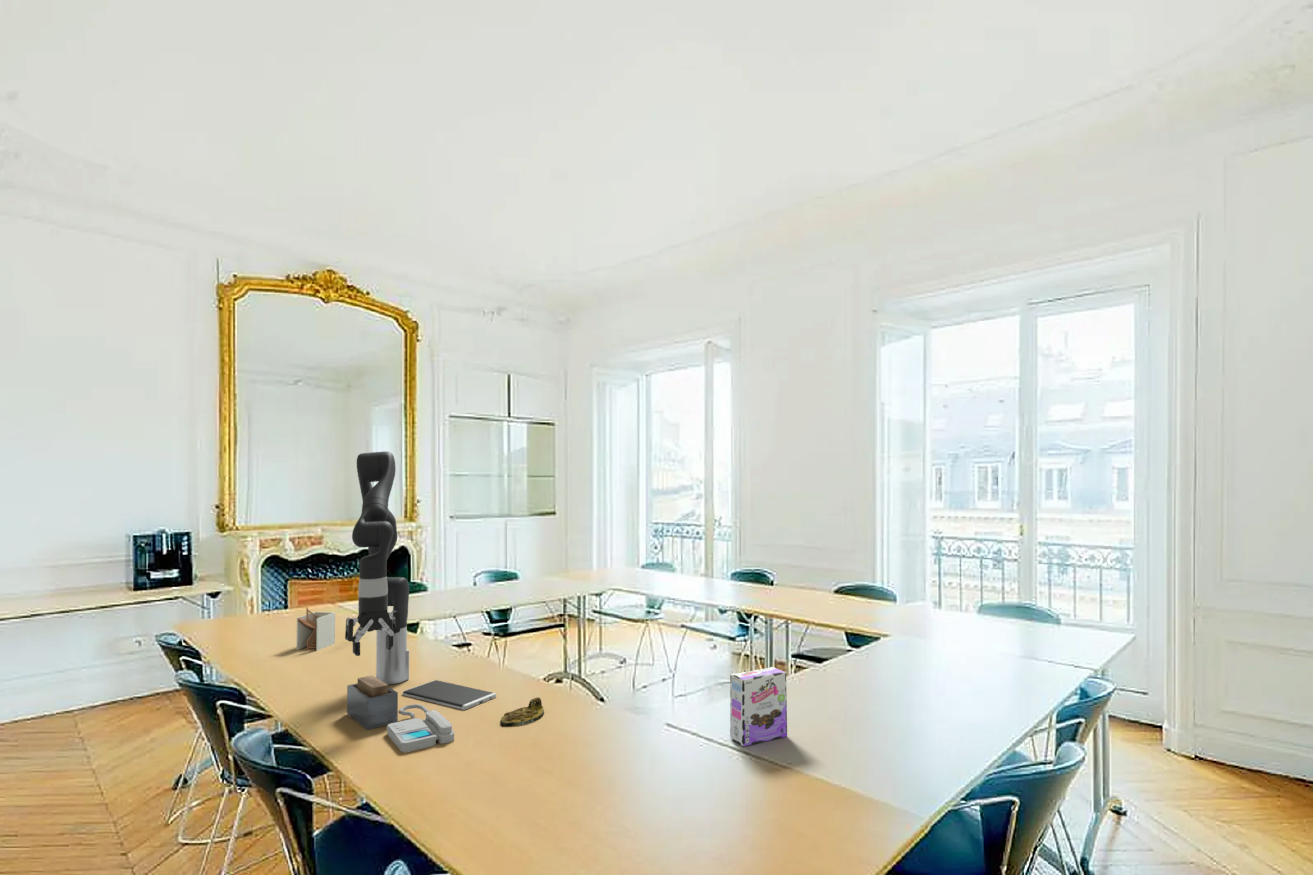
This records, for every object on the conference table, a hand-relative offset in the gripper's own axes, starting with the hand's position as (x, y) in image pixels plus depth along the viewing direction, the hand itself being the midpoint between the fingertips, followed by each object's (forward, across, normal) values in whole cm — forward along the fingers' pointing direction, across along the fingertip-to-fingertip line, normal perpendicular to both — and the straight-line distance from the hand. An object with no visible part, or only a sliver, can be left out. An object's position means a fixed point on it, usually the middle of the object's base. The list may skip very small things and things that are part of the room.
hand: (373, 652), depth 193 cm
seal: (+19, -30, +29) cm, 46 cm away
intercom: (+18, -4, +18) cm, 26 cm away
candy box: (+18, -66, +82) cm, 107 cm away
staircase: (+20, -12, -93) cm, 96 cm away
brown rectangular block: (+13, 0, 0) cm, 13 cm away
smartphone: (+19, -24, -3) cm, 30 cm away
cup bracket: (+18, 0, 0) cm, 18 cm away
